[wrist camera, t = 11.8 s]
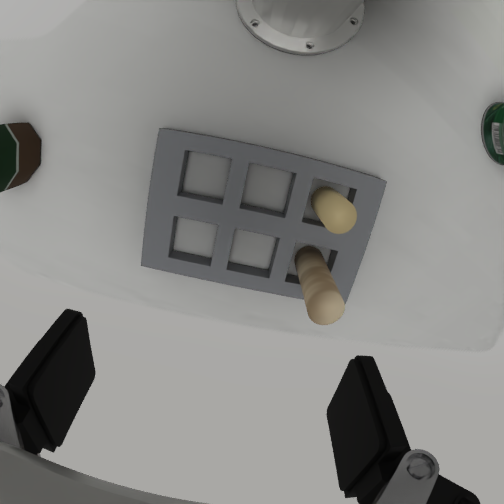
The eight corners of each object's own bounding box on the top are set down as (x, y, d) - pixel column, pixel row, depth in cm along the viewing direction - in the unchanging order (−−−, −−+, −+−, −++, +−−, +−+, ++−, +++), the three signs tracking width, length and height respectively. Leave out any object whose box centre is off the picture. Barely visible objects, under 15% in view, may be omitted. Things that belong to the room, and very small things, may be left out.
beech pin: (325, 249, 34) (350, 296, 24) (317, 274, 35) (337, 327, 25) (298, 243, 33) (314, 289, 24) (291, 269, 35) (302, 321, 25)
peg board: (379, 178, 31) (404, 189, 25) (340, 297, 36) (353, 327, 30) (165, 128, 29) (145, 128, 24) (146, 258, 34) (127, 283, 29)
